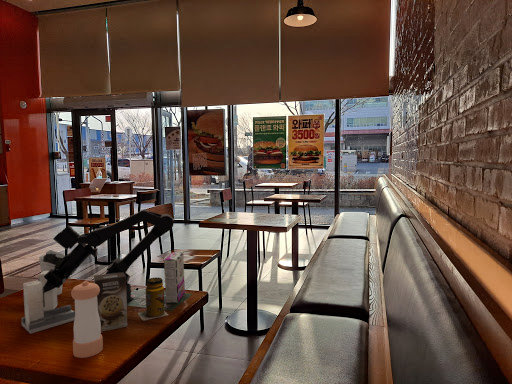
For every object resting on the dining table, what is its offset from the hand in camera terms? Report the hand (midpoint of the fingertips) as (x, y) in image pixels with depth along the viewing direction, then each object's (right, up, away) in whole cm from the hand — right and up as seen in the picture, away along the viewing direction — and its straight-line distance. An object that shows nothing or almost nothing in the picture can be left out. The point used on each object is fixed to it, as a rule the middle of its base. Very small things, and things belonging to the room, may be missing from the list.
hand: (44, 290), depth 127 cm
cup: (-5, -6, +16) cm, 17 cm away
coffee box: (+30, -7, -15) cm, 34 cm away
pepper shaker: (+30, -8, -30) cm, 43 cm away
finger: (+1, -7, +1) cm, 7 cm away
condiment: (+41, -7, -6) cm, 42 cm away
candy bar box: (+45, -6, +9) cm, 46 cm away
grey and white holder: (+9, -7, -11) cm, 16 cm away
